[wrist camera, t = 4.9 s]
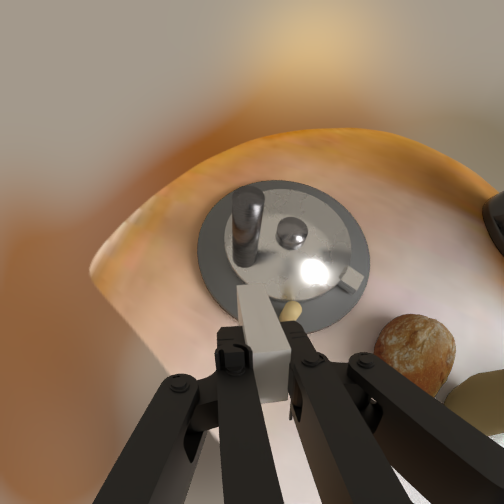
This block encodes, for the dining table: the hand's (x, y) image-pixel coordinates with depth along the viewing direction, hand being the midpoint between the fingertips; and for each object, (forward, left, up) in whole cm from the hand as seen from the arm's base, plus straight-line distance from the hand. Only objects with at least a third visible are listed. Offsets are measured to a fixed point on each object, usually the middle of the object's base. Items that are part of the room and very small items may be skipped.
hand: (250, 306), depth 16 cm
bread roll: (-8, +17, -12) cm, 22 cm away
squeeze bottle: (-6, +27, -12) cm, 30 cm away
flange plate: (-11, -2, -10) cm, 15 cm away
